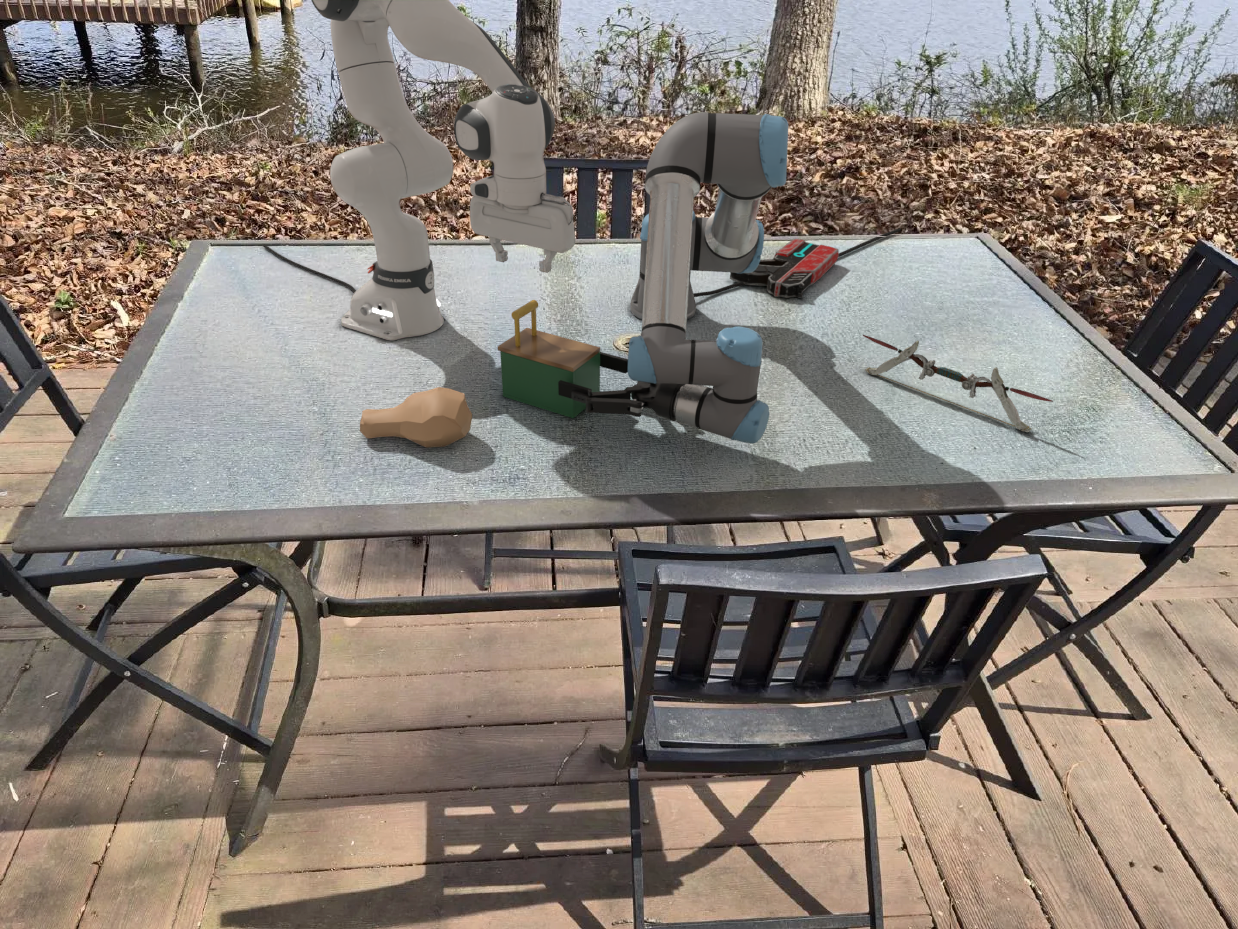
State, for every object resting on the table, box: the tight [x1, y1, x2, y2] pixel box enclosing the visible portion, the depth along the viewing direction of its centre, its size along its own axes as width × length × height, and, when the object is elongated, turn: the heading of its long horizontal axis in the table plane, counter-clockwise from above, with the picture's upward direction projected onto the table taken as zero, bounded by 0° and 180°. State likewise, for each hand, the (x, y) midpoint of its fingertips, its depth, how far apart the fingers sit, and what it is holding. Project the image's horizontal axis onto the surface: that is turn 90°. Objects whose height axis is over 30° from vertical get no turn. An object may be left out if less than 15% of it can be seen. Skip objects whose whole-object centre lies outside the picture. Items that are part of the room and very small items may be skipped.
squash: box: [359, 386, 473, 449], centre depth 154 cm, size 11×20×9 cm, turn 90°
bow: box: [862, 334, 1055, 433], centre depth 169 cm, size 39×2×10 cm, turn 47°
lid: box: [497, 299, 601, 372], centre depth 162 cm, size 17×10×8 cm, turn 61°
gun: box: [729, 238, 840, 299], centre depth 224 cm, size 4×31×19 cm
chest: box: [499, 351, 601, 419], centre depth 167 cm, size 16×10×10 cm, turn 61°
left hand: (523, 266), depth 158 cm, fingers open, 8 cm apart
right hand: (578, 372), depth 163 cm, fingers open, 13 cm apart
